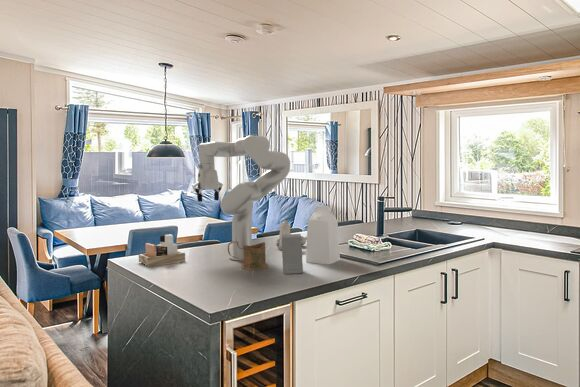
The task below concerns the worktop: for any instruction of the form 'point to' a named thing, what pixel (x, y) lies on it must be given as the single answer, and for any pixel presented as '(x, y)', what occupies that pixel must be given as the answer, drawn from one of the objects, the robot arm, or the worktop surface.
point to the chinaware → (286, 231)
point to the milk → (322, 237)
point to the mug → (253, 256)
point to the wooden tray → (162, 259)
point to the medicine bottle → (166, 246)
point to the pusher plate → (150, 250)
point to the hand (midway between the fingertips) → (208, 200)
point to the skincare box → (292, 254)
